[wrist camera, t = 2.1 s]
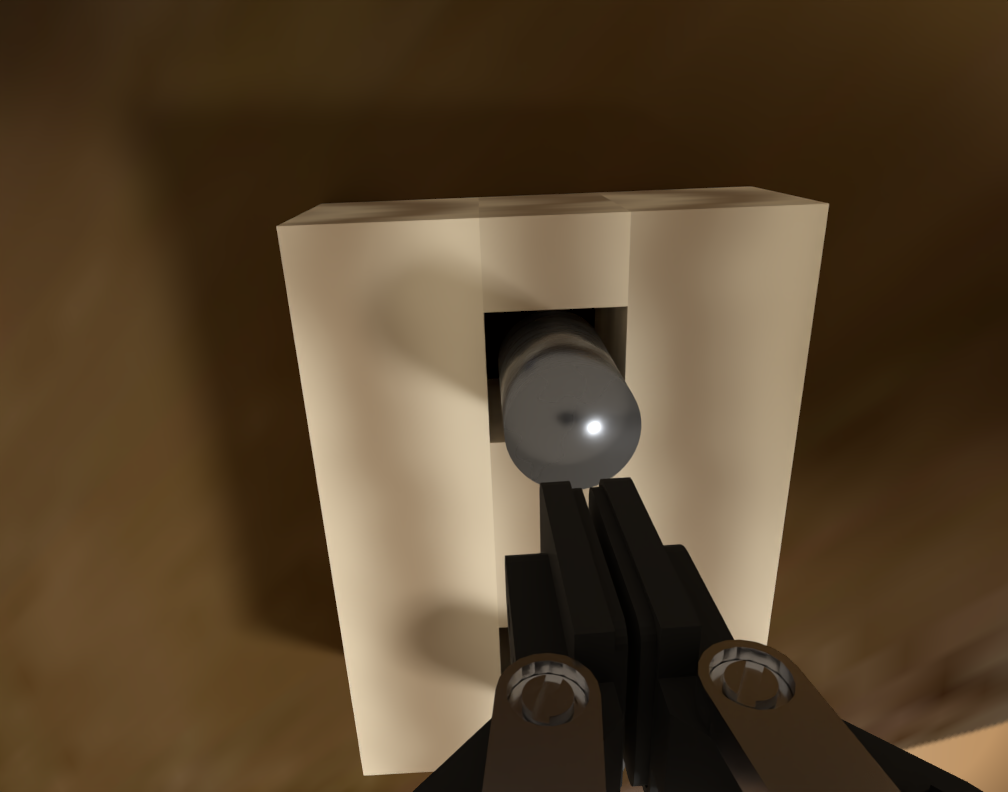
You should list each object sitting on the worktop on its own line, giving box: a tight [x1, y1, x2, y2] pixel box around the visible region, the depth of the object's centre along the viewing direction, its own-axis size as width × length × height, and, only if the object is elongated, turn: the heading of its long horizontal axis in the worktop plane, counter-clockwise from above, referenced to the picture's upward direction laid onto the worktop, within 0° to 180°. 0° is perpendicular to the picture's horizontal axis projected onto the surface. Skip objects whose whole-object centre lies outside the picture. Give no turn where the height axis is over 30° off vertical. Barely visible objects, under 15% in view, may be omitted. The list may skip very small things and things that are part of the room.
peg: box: [498, 310, 641, 489], centre depth 20 cm, size 4×4×6 cm
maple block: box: [276, 186, 829, 775], centre depth 26 cm, size 16×22×6 cm
